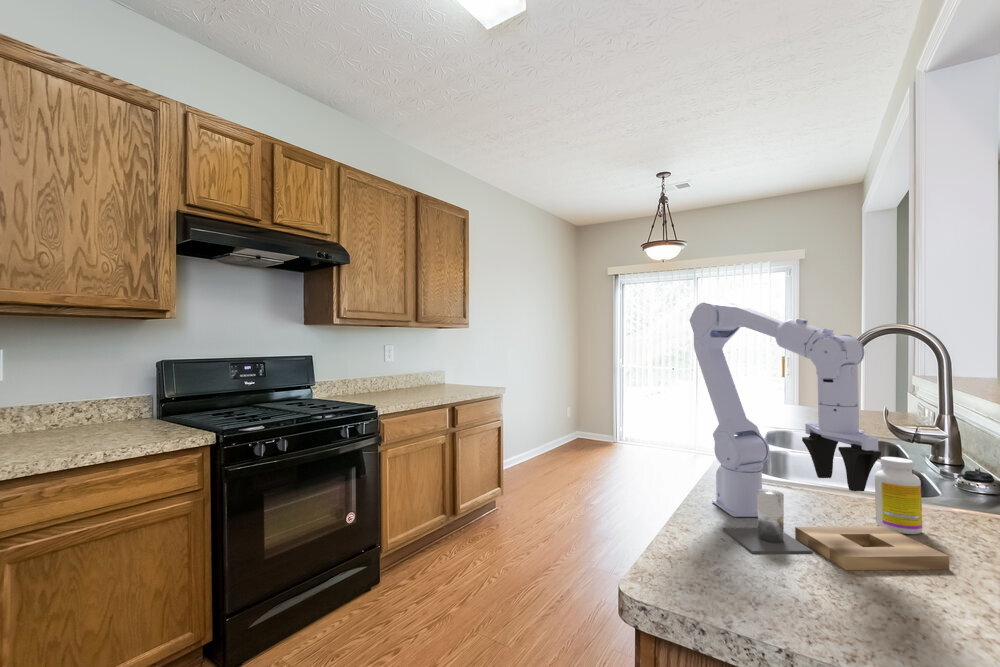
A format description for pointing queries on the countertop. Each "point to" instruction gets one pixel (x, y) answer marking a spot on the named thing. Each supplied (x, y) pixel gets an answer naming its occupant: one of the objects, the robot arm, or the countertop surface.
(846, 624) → the countertop surface
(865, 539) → the holder
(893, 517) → the supplement bottle
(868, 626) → the countertop surface
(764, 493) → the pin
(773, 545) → the mat
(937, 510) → the countertop surface
